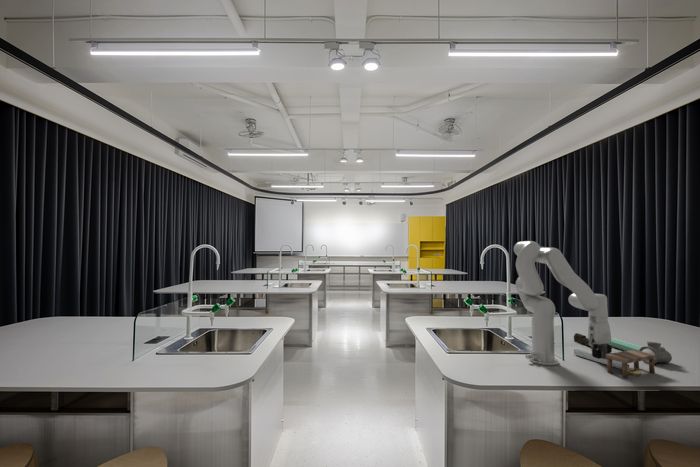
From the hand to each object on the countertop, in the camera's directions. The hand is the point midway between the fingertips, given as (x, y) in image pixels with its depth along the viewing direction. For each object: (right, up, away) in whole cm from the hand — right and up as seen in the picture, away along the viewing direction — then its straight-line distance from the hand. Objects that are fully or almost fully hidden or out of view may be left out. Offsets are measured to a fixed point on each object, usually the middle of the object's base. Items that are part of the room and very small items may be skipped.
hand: (599, 356), depth 158 cm
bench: (+4, -2, -13) cm, 14 cm away
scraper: (0, -2, 0) cm, 2 cm away
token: (+5, -2, -14) cm, 15 cm away
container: (+28, -4, +17) cm, 33 cm away
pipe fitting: (+28, -3, 0) cm, 28 cm away
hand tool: (+13, -4, +25) cm, 28 cm away
